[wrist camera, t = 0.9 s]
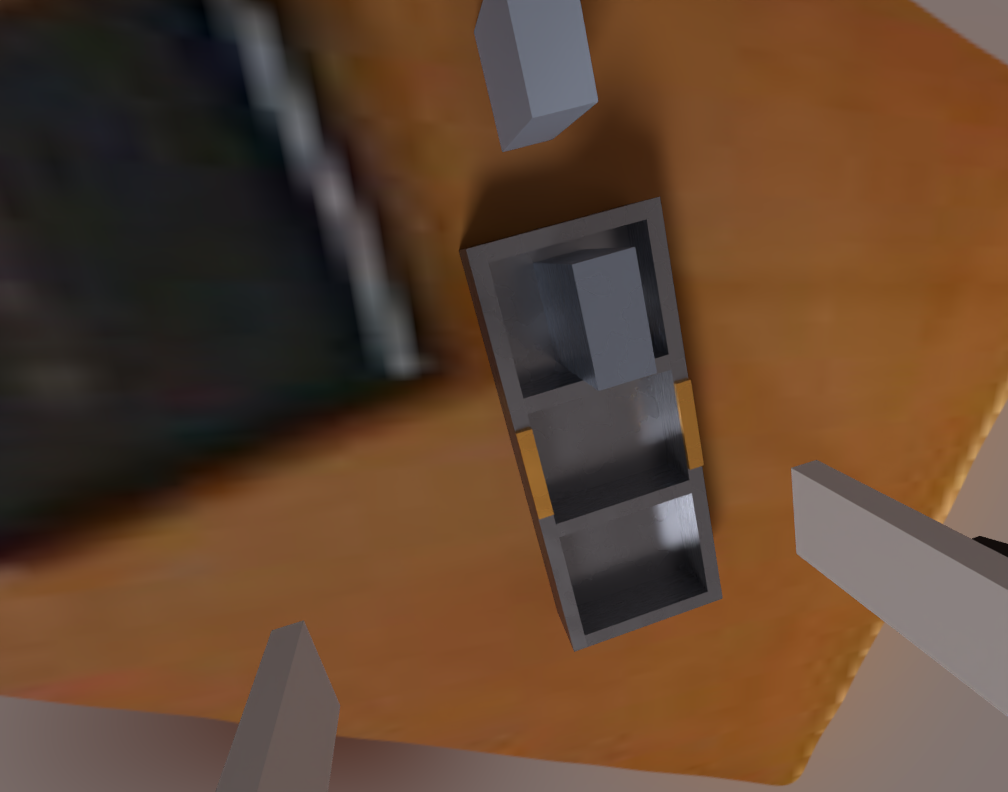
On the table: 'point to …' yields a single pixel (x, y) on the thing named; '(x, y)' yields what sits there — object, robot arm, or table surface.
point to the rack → (600, 415)
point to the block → (534, 67)
